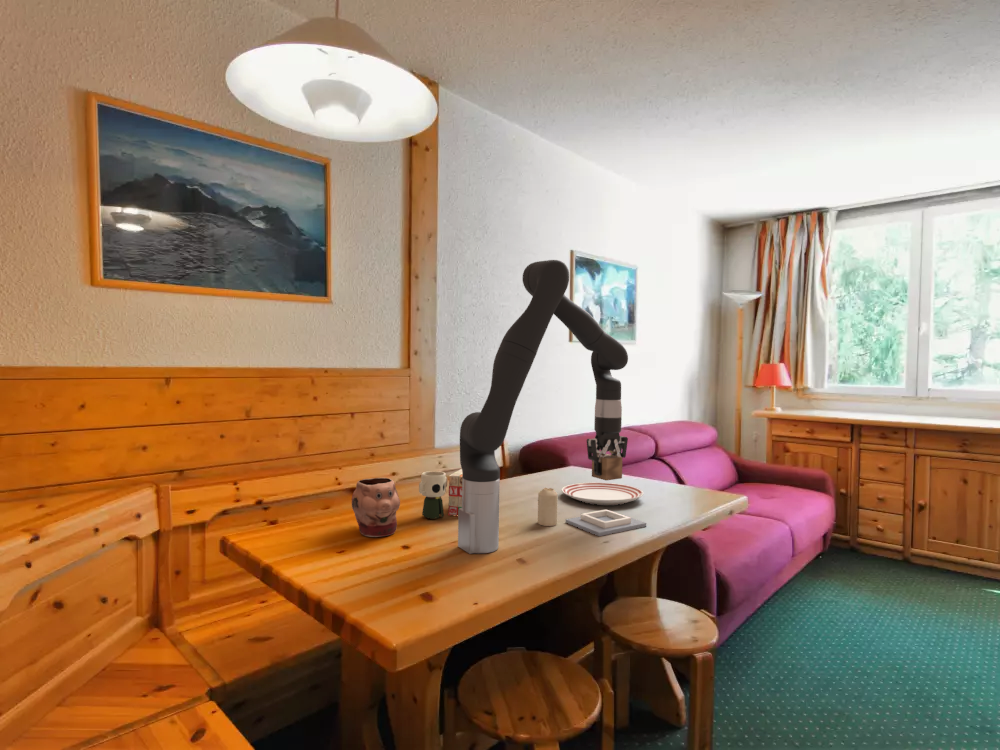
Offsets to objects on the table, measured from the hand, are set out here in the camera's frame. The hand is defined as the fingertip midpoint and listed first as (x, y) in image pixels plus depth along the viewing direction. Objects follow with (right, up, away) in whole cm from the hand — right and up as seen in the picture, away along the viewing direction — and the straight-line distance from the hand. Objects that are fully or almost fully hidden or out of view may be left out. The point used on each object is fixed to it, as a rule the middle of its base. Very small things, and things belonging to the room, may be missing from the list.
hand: (606, 473), depth 155 cm
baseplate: (0, -15, 0) cm, 15 cm away
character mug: (-50, -14, +4) cm, 52 cm away
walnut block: (0, -1, 0) cm, 1 cm away
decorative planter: (-64, -14, -9) cm, 66 cm away
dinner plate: (+4, -14, +31) cm, 34 cm away
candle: (-17, -14, +1) cm, 22 cm away
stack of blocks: (-40, -14, +16) cm, 45 cm away
